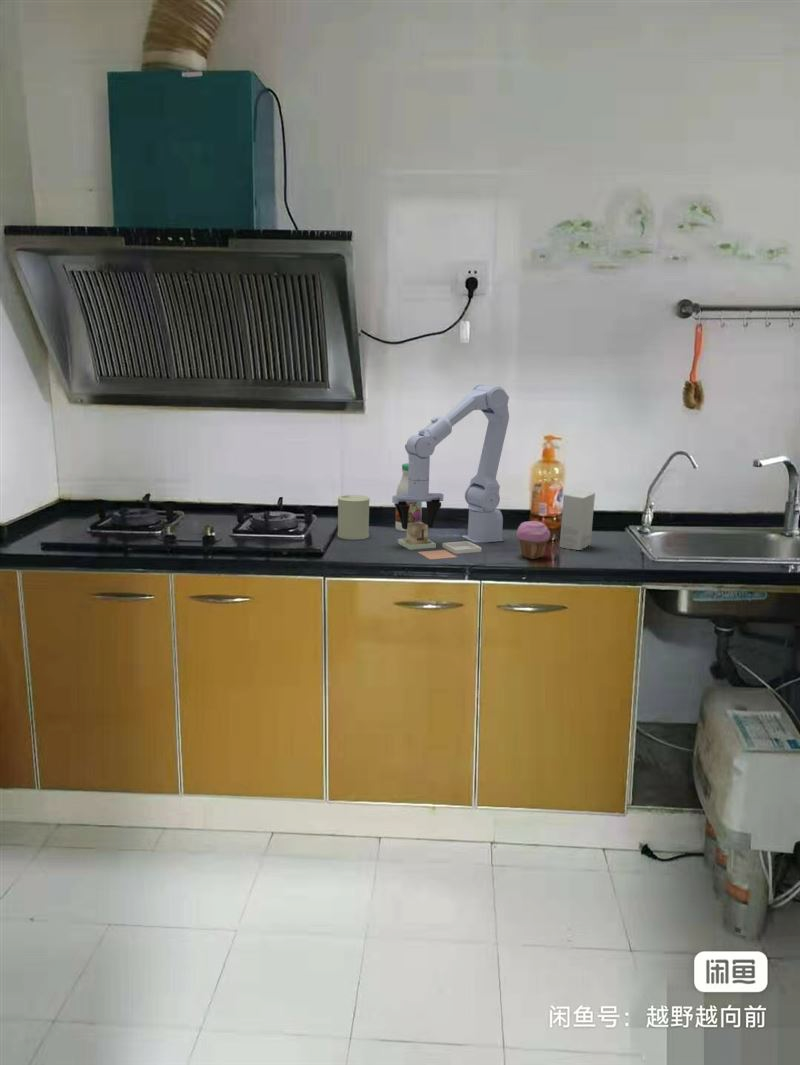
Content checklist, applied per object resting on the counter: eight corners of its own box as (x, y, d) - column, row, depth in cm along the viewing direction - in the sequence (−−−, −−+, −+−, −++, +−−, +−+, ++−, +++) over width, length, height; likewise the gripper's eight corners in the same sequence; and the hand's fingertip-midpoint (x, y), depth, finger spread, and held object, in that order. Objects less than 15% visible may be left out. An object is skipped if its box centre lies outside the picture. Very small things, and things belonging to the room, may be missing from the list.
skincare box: (571, 542, 250) (574, 489, 246) (592, 546, 246) (596, 492, 243) (558, 548, 243) (562, 493, 240) (580, 551, 239) (584, 496, 236)
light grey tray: (468, 546, 243) (468, 541, 242) (481, 553, 235) (481, 547, 235) (442, 548, 239) (442, 543, 239) (455, 555, 232) (455, 549, 232)
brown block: (420, 542, 243) (421, 522, 242) (427, 546, 239) (428, 525, 238) (406, 543, 242) (406, 522, 240) (412, 547, 238) (413, 526, 236)
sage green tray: (423, 542, 246) (424, 537, 246) (435, 548, 239) (435, 543, 238) (397, 544, 243) (398, 539, 242) (409, 550, 236) (409, 545, 235)
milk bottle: (394, 527, 264) (395, 462, 260) (419, 527, 265) (421, 462, 261) (396, 532, 257) (398, 466, 252) (422, 532, 258) (424, 466, 253)
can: (347, 532, 256) (348, 492, 254) (374, 536, 252) (375, 495, 249) (331, 538, 248) (331, 497, 246) (359, 542, 244) (359, 500, 241)
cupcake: (532, 563, 226) (534, 525, 224) (508, 556, 233) (510, 519, 231) (555, 558, 232) (557, 521, 230) (531, 551, 238) (533, 516, 236)
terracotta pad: (444, 551, 236) (444, 549, 236) (457, 558, 229) (457, 556, 229) (417, 553, 233) (417, 551, 233) (430, 561, 226) (430, 559, 226)
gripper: (436, 475, 243) (434, 523, 246) (388, 477, 237) (387, 526, 240) (447, 479, 237) (445, 528, 240) (398, 482, 231) (397, 531, 234)
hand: (417, 527), depth 240 cm, fingers open, 7 cm apart
